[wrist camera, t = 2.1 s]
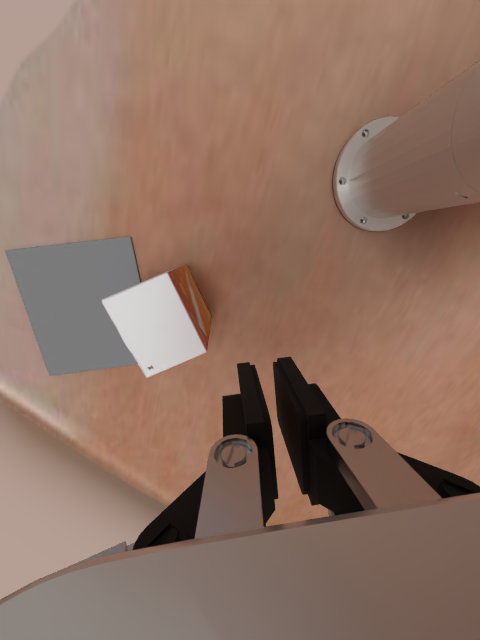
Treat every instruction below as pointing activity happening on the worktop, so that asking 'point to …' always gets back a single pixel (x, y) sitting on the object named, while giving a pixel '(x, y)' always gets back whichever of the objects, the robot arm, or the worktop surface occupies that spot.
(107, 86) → the worktop surface
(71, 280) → the mat
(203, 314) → the small box
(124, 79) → the worktop surface
